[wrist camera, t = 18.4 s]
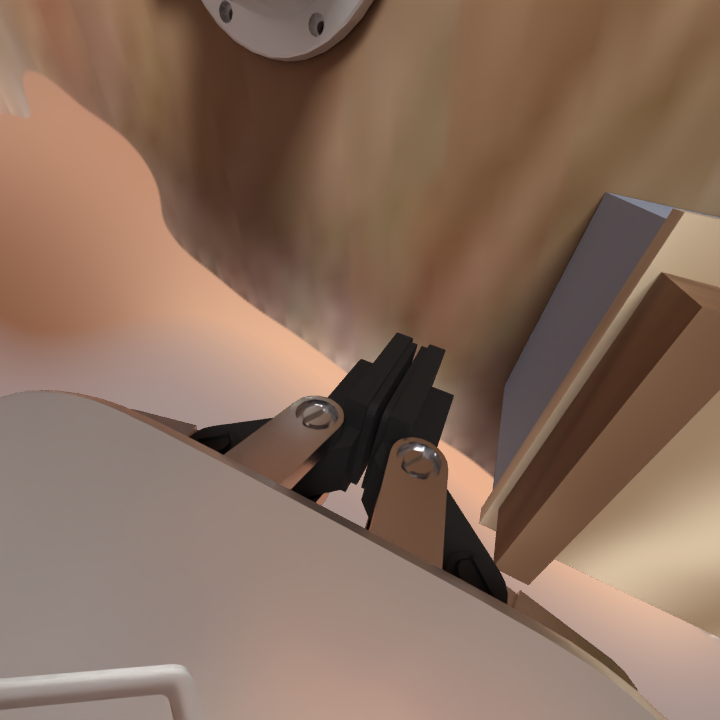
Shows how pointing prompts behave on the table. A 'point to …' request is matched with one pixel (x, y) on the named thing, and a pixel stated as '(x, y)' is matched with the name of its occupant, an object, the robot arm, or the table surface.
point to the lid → (632, 442)
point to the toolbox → (575, 312)
